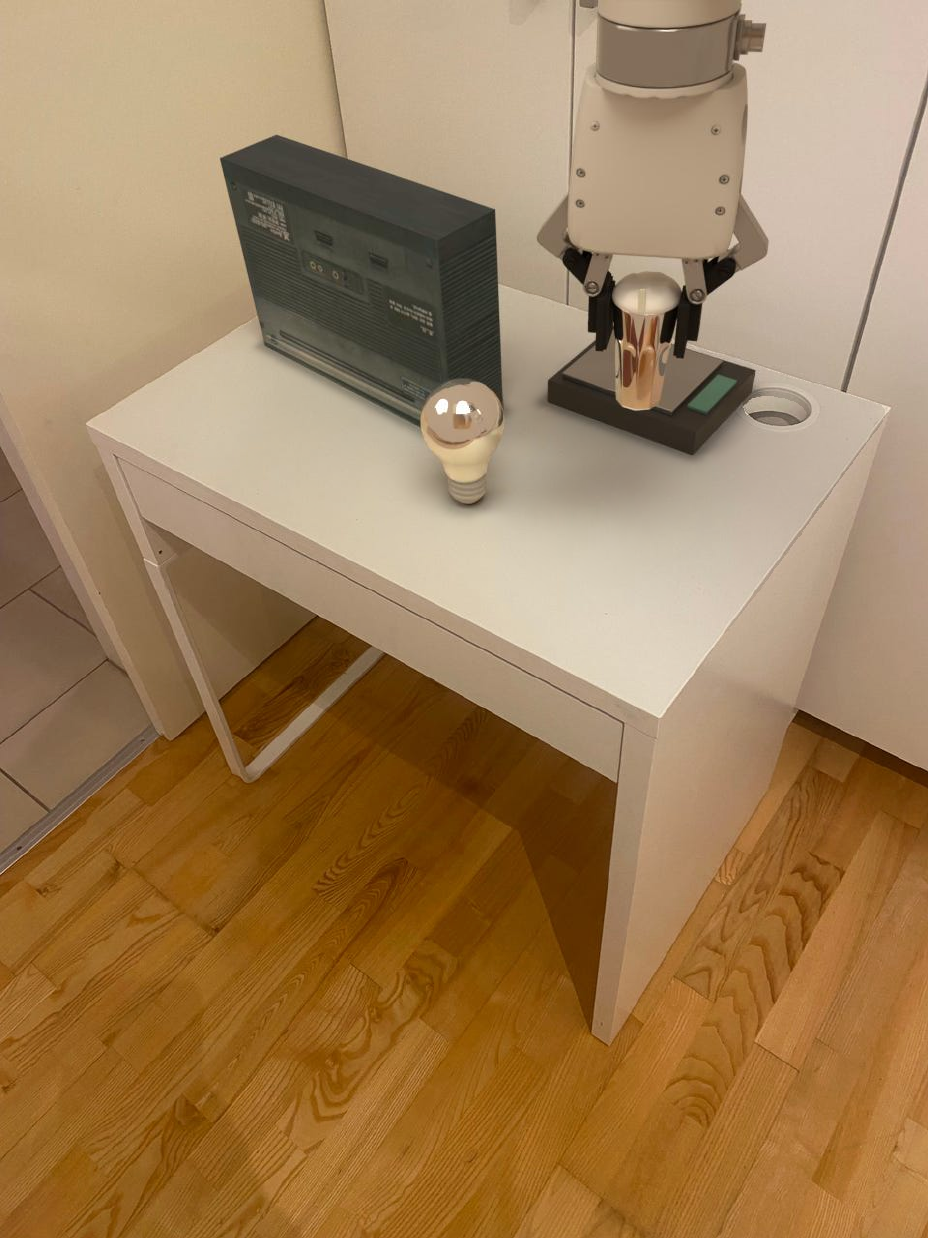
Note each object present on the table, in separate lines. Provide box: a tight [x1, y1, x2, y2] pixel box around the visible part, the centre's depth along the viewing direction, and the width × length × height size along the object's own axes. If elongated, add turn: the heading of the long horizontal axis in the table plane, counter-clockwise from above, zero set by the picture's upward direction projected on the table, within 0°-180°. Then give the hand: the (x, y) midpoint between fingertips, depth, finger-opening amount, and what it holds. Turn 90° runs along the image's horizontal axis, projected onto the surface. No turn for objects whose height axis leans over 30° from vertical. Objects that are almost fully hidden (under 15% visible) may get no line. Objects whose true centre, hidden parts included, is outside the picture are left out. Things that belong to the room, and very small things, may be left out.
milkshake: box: [612, 271, 682, 411], centre depth 65 cm, size 4×5×10 cm
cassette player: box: [219, 134, 504, 428], centre depth 93 cm, size 29×7×20 cm, turn 46°
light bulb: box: [420, 378, 505, 505], centre depth 81 cm, size 7×7×12 cm
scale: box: [547, 325, 757, 456], centre depth 93 cm, size 16×12×3 cm
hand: (642, 341), depth 65 cm, fingers closed on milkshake, 4 cm apart
